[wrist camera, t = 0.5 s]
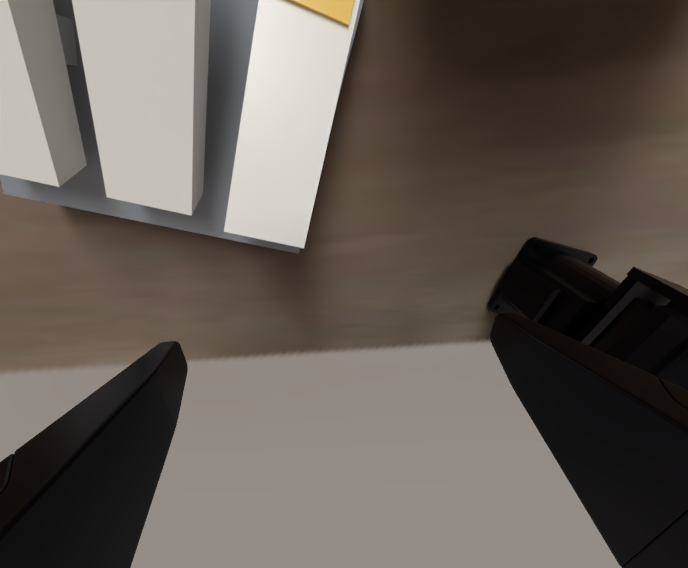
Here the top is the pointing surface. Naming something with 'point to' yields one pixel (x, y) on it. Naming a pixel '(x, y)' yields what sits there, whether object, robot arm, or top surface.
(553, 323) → the robot arm
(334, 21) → the block
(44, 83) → the block
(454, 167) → the top surface
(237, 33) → the console
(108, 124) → the rocker middle
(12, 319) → the top surface
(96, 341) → the top surface
